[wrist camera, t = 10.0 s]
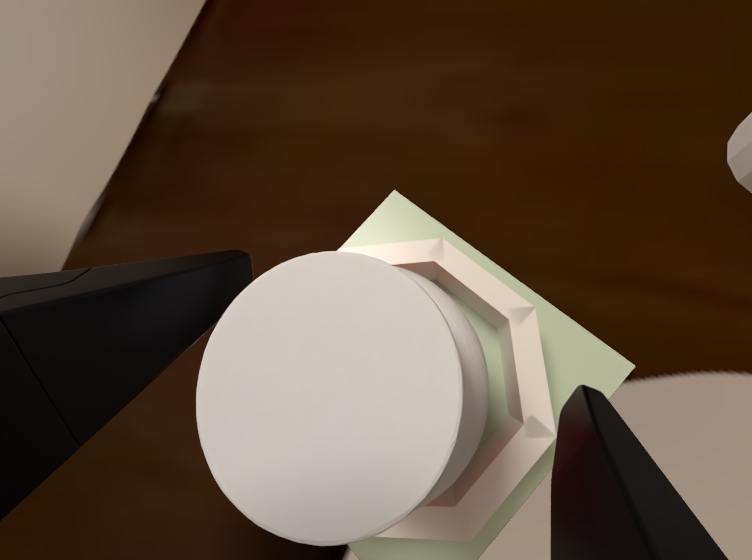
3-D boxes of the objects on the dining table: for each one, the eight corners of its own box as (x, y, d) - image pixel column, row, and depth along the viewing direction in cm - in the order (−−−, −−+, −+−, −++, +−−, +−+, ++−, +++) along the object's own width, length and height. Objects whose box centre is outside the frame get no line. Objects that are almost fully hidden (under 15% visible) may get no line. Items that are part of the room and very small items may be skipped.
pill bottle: (497, 371, 15) (613, 366, 5) (410, 479, 15) (323, 741, 4) (394, 288, 17) (315, 155, 7) (314, 381, 17) (96, 393, 6)
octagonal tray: (418, 622, 14) (410, 704, 10) (224, 379, 18) (174, 380, 15) (628, 366, 15) (683, 364, 11) (395, 195, 19) (385, 157, 16)
